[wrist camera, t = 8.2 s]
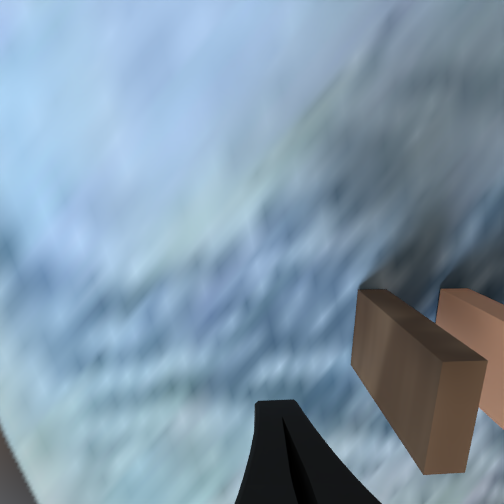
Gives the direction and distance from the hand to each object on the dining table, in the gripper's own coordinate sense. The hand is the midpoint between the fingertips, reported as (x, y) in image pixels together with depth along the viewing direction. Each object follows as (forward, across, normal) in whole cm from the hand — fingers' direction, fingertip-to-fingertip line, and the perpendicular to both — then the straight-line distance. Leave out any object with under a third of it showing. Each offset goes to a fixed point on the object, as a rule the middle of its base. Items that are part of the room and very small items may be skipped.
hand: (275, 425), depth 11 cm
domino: (+7, -6, 0) cm, 9 cm away
